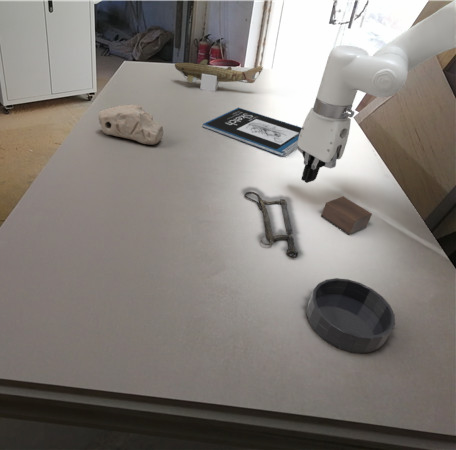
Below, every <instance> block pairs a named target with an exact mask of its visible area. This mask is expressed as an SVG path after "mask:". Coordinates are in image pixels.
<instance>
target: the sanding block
mask: <svg viewBox="0 0 456 450" xmlns="http://www.w3.org/2000/svg"><path fill="white" fill-rule="evenodd" d="M372 216H373V213H372V212H371V211H369V210H367V209H365V208H363V207H362V206H360V205H359V204H357V203H355V202H354V201H352V200H350V199H349V198H347V197H345V196H344V195H342V196H339V197H337V198H335V199H331V200H328V201H327V202H326V201H325V204H324V206H323V210H322V212H321V215H320V217H321V218H322V219H324V220H325V221H327V222H328V223H330V224H331V223H332V224H331V225H332V226H334V225H335V226H334V227H335V228H337V227H338V228H337V229H339V230H340V229H341V230H340V231H342V232H343V233H344V234H346V235H347V236H351V235H353V234H355V233H357V232H359V231H362V230H365V229H367V226H368V224H369V222H370V220H371V218H372ZM350 234H351V235H350Z"/></svg>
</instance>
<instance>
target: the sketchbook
mask: <svg viewBox="0 0 456 450" xmlns="http://www.w3.org/2000/svg"><path fill="white" fill-rule="evenodd" d="M202 128H204V129H206V130H209V131H212V132H215V133H218V134H220V135H223V136H226V137H228V138H231V139H235V140H237V141H240V142H243V143H245V144H247V145H249V146H250V145H251V146H253V147H256V148H259V149H262V150H264V151H267V152H270V153H272V154H275V155H278V156H280V157H284V158H285V157H287V156H288V155H290V154H292V152H294V151H296V150H298V149H297V147H298V138H299V135H300V132H301V129H302V126H298V125H295V124H292V123H289V122H286V121H283V120H279V119H276V118H272V117H269V116H266V115H263V114H260V113H257V112H253V111H250V110H247V109H244V108H241V107H237V108H235V109H232V110H230V111H228V112H225V113H224V114H221V115H219V116H217V117H215V118H212V119H210V120H208V121H206V122H204V123H202Z"/></svg>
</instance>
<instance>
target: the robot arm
mask: <svg viewBox="0 0 456 450" xmlns="http://www.w3.org/2000/svg"><path fill="white" fill-rule="evenodd" d="M453 49H456V0H452V1H450V2H449V3H447V4H446V5H444V6H442V7H441V8H439V9H438V10H437V11H435V12H434V13H432V14H431V15H429V16H427V17H425V18H424V19H422V20H421V21H419V22H417V23H415V24H414V25H413V26H411V27H410V28H408V29H407V30H405V31H404V32H402V33H401V34H399V35H398V36H396V37H395V38H394V39H392V40H391V41H389V42H388V43H386V44H385V45H383V46H382V47H381V48H379V49H378V50H376V51H375V52H374V54H372V55H369V53H368V51H367V50H366V49H364V48H361V47H358V46H353V45H337V46H335V47H333V48H332V49H331V50H330V52H329V53H328V54H329V55H328V58H327V60H326V63H325V67H324V70H323V74H322V77H321V81H320V84H319V87H318V91H317V94H316V96H315V101H314V103H313V107H311V108H310V110H309V111H308V113H307V115H306V117H305V119H304V120H303V124H302V126H301V128H302V129H301V132H300V135H299V138H298V146H297V149H296V150H297V151H299V153H301V154H302V158H303V165H304V168H303V170H302V175H301V179H300V180H301V181H303V182H304V183H305V184H308V183H311V182H314V181H315V180H316V179H317V177H318V174H319V172H320V169H321V168H327V169H334V168H336V166H337V160H341V159H342V157H343V155H344V153H345V149H346V146H347V143H348V140H349V139H348V138H349V136H350V129H351V123H352V122H351V120H352V118H353V117H354V115H355V111H354V110H352V108H353V105H354V101H355V99H356V96H357V93H358V91H359V92H362V93H364V94H366V95H370V96H373V97H377V98H389V97H392V96H394V95H397V93H399V92H400V91H401V90H402V89H403V88H404V87H405V85H406V82H407V80H408V73H410V72H411V71H412V70H414V69H416V68H417V67H419V66H421V65H422V64H423V63H425V62H427V61H428V60H430V59H433V58H435V57H436V56H438V55H440V54H442V53H445V52H447V51H450V50H453Z"/></svg>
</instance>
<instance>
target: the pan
mask: <svg viewBox="0 0 456 450" xmlns="http://www.w3.org/2000/svg"><path fill="white" fill-rule="evenodd" d="M307 317H308V318H307ZM395 317H396V316H395V313H394V311H393V308H392V306H391V305H390V304H389V302H388V301H387V300H386V299H385V298H384V296H382V295H381V294H380V293H378V292H377V291H376V290H375V289H374V288H371V287H369V286H367V285H365V284H363V283H361V282H359V281H355V280H351V279H348V278H339V277H335V278H328V279H324V280H322V281H320V282H319V283H318V284H317V285H316V286H315V288H313V290H312V293H311V295H310V298H309V300H308V302H307V307H306V318H307V321H308V324H309V325H310V327H311V329H313V331H314V332H315V333H316V334H317V336H319V338H321V339H322V340H323V341H324V342H326V343H327V344H329V345H331V346H333V347H335V348H336V349H338V350H341V351H345V352H348V353H353V354H368V353H372V352H376V351H377V350H379V349H380V348H381V347H383V345H384V344H385V342H386V340H387V339H388V338H389V336H390V334H391V332H392V331H393V329H394V327H395V325H396V318H395Z"/></svg>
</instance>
